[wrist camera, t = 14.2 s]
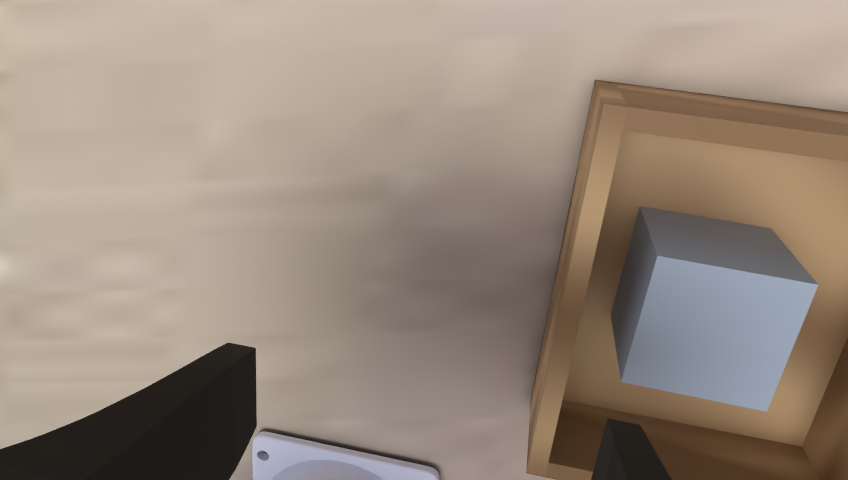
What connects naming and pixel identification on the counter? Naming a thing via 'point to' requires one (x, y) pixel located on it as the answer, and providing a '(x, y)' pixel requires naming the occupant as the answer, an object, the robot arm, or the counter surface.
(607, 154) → the wooden box
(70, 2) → the counter surface
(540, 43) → the counter surface
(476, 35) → the counter surface
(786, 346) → the block
